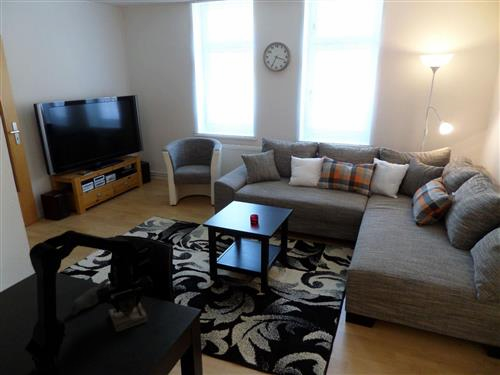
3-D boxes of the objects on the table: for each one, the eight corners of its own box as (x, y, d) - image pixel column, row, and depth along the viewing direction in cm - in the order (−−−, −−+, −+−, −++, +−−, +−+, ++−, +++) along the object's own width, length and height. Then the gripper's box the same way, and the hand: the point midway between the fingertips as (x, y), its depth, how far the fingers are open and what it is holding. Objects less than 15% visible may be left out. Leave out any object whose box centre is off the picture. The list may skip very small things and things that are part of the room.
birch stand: (147, 320, 124) (147, 316, 124) (116, 332, 118) (115, 327, 118) (139, 304, 133) (138, 300, 132) (109, 314, 127) (109, 310, 127)
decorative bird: (68, 313, 127) (66, 296, 125) (105, 292, 141) (103, 276, 139) (77, 318, 125) (75, 301, 123) (114, 296, 138) (112, 280, 136)
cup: (129, 304, 130) (127, 286, 128) (142, 311, 126) (141, 292, 124) (112, 315, 124) (110, 296, 121) (126, 322, 120) (124, 303, 118)
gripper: (143, 255, 131) (146, 290, 136) (91, 268, 122) (96, 305, 126) (152, 268, 122) (155, 305, 127) (96, 283, 113) (101, 322, 117)
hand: (127, 309), depth 124 cm, fingers closed on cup, 6 cm apart
